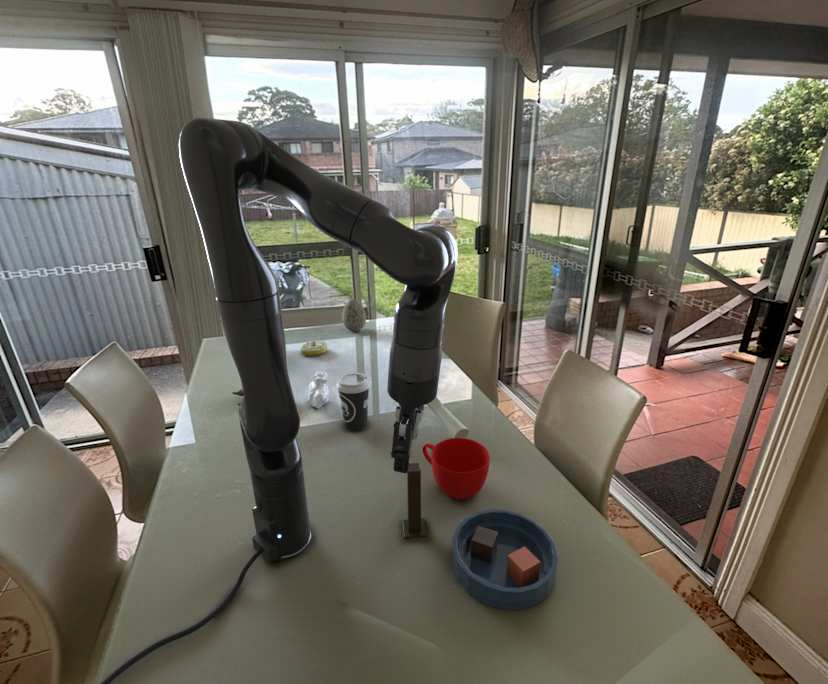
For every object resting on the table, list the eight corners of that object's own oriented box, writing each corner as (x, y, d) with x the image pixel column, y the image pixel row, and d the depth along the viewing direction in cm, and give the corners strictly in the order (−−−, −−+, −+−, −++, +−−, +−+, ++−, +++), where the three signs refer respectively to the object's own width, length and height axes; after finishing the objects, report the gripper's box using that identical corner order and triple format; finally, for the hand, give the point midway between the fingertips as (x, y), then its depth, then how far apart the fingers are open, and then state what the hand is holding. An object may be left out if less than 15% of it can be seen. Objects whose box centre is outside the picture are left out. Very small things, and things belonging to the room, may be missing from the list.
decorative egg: (358, 325, 210) (356, 294, 204) (371, 331, 202) (369, 299, 197) (338, 330, 203) (336, 299, 198) (351, 336, 196) (349, 304, 190)
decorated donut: (303, 347, 184) (302, 339, 183) (329, 347, 184) (328, 338, 183) (298, 357, 174) (297, 348, 173) (325, 356, 174) (324, 348, 173)
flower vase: (446, 465, 122) (388, 391, 146) (482, 443, 125) (420, 374, 150) (440, 439, 114) (381, 366, 139) (479, 416, 118) (414, 348, 142)
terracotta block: (521, 588, 76) (523, 571, 75) (506, 571, 80) (507, 555, 78) (538, 578, 78) (540, 561, 77) (522, 562, 82) (524, 546, 80)
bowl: (524, 636, 69) (527, 613, 68) (432, 572, 81) (432, 551, 79) (570, 561, 83) (574, 540, 81) (485, 515, 94) (486, 496, 92)
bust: (326, 416, 136) (345, 386, 136) (305, 408, 132) (325, 376, 132) (315, 400, 146) (333, 371, 146) (296, 391, 142) (314, 362, 142)
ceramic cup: (439, 459, 112) (439, 426, 108) (498, 487, 102) (500, 451, 98) (406, 486, 103) (405, 450, 99) (467, 520, 93) (469, 481, 89)
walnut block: (491, 563, 81) (492, 547, 80) (470, 556, 83) (471, 540, 81) (497, 548, 85) (498, 532, 83) (477, 541, 86) (478, 525, 85)
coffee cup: (366, 436, 122) (364, 388, 117) (334, 432, 124) (330, 384, 118) (376, 418, 131) (374, 372, 125) (345, 415, 133) (342, 370, 127)
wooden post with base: (426, 539, 88) (426, 473, 82) (404, 541, 87) (402, 475, 82) (424, 522, 92) (424, 459, 86) (402, 524, 92) (401, 460, 86)
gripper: (399, 341, 71) (392, 423, 78) (377, 386, 58) (372, 479, 65) (445, 348, 70) (434, 430, 77) (433, 396, 57) (422, 489, 65)
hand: (405, 453), depth 71 cm, fingers open, 8 cm apart
